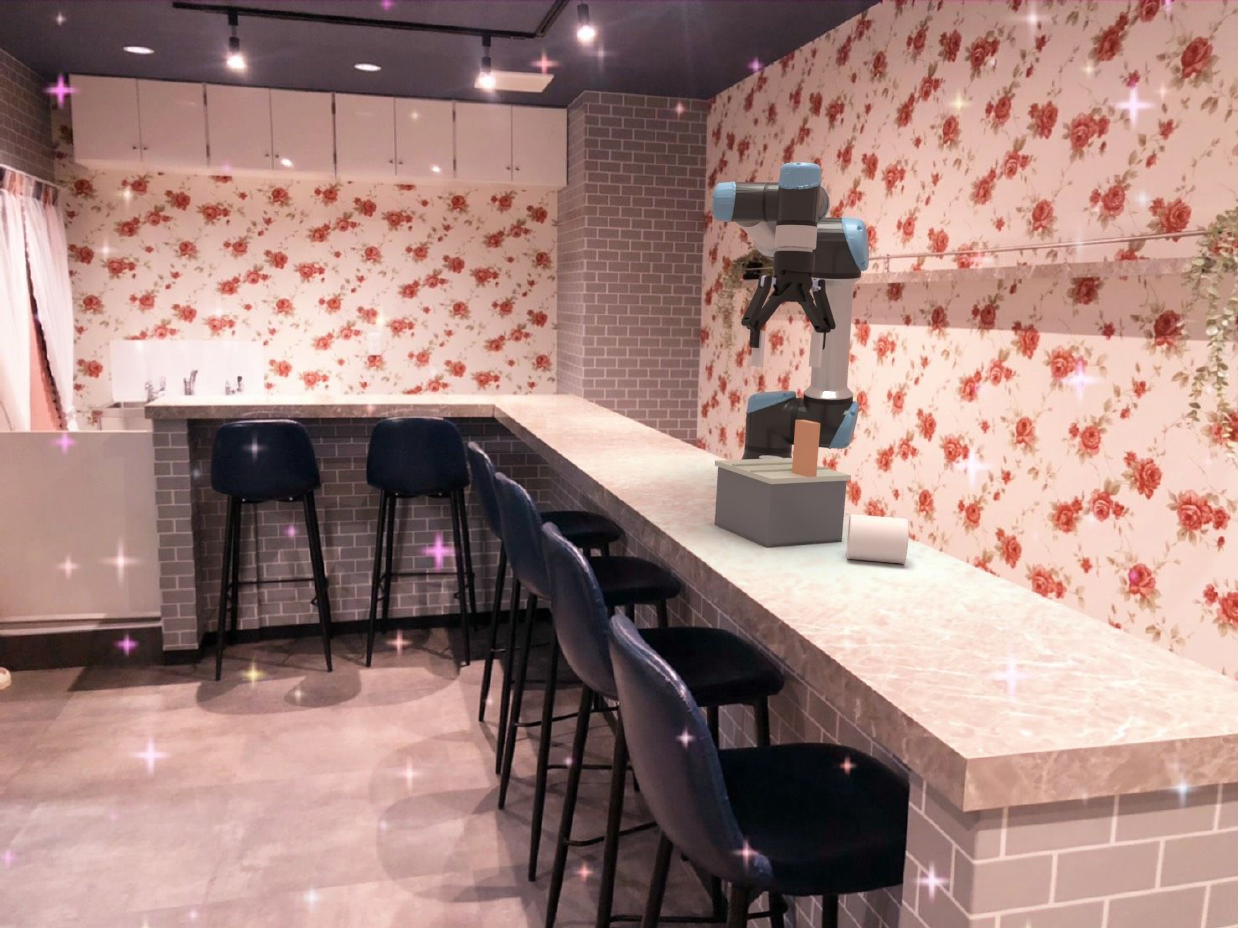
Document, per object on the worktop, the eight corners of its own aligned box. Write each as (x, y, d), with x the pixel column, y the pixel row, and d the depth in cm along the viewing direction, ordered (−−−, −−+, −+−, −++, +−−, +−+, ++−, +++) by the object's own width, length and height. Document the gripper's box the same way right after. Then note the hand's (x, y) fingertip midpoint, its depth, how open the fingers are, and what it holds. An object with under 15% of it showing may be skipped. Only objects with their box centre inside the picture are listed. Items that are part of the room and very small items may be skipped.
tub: (785, 519, 206) (789, 463, 204) (841, 541, 189) (846, 479, 187) (714, 524, 199) (718, 465, 197) (766, 547, 182) (771, 483, 180)
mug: (905, 568, 171) (910, 524, 170) (847, 563, 173) (850, 519, 172) (900, 552, 183) (904, 510, 182) (845, 547, 185) (849, 505, 184)
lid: (789, 468, 205) (793, 409, 203) (850, 486, 187) (855, 422, 185) (714, 471, 197) (717, 410, 195) (770, 490, 179) (774, 424, 177)
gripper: (833, 255, 190) (824, 365, 194) (727, 246, 178) (719, 364, 182) (860, 254, 184) (851, 368, 187) (751, 245, 172) (743, 367, 175)
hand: (786, 366), depth 185 cm, fingers open, 13 cm apart
